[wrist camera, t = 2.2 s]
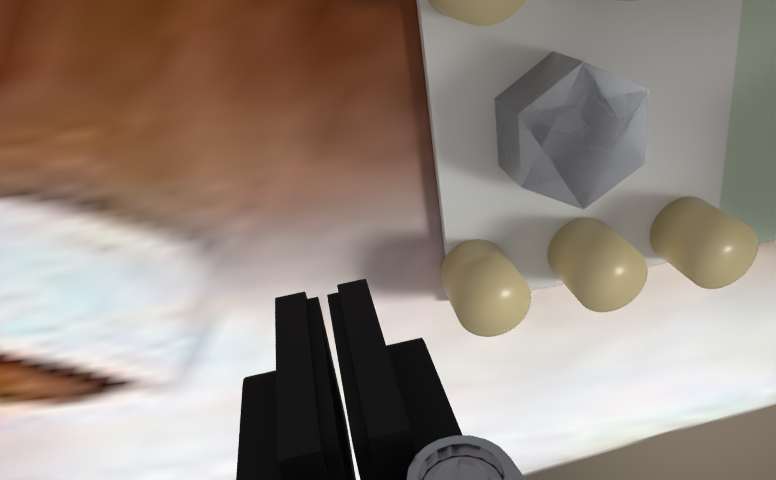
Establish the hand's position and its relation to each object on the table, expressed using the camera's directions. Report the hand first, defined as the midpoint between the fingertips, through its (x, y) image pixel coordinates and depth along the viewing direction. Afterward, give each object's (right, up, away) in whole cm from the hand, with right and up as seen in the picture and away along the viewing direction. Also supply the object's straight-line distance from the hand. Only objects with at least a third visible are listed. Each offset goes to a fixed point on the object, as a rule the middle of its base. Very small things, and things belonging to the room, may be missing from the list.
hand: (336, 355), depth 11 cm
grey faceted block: (+7, +7, +11) cm, 14 cm away
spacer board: (+11, +7, +12) cm, 18 cm away
